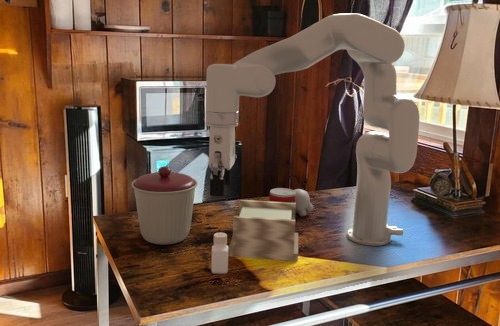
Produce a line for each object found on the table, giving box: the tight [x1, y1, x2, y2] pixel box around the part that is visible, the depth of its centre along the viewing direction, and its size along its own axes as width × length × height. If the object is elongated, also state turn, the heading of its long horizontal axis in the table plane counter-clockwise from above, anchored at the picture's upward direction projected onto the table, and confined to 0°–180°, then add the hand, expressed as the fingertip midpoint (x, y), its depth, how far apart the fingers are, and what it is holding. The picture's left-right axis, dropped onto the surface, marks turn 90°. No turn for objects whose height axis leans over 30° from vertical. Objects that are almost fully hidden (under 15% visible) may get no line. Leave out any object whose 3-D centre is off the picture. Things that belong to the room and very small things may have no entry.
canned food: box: [268, 187, 296, 203], centre depth 152 cm, size 8×8×11 cm
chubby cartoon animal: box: [293, 188, 314, 217], centre depth 162 cm, size 7×12×8 cm, turn 118°
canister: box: [130, 165, 199, 246], centre depth 138 cm, size 18×18×21 cm
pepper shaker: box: [210, 231, 229, 275], centre depth 121 cm, size 4×4×10 cm
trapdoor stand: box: [228, 199, 299, 262], centre depth 135 cm, size 18×15×11 cm
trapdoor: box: [240, 206, 292, 220], centre depth 135 cm, size 14×12×2 cm
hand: (220, 189), depth 118 cm, fingers open, 9 cm apart
